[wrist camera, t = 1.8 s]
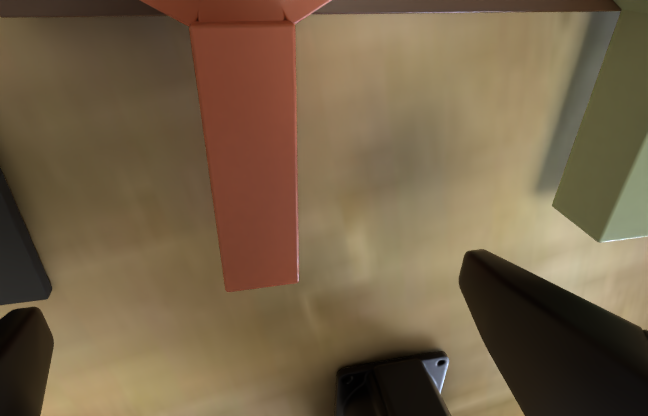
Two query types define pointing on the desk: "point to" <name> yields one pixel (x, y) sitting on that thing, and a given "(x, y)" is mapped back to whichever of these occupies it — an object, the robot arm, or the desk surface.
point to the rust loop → (249, 129)
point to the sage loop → (613, 140)
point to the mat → (18, 256)
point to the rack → (108, 3)
